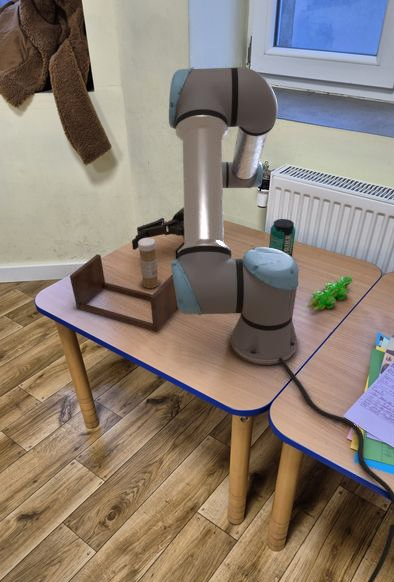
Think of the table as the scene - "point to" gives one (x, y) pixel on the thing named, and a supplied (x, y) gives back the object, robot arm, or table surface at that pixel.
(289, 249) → the green supplement bottle
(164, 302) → the bottle rack
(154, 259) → the sprinkles bottle
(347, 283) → the green long bumpy piece
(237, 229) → the table surface
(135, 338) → the table surface
